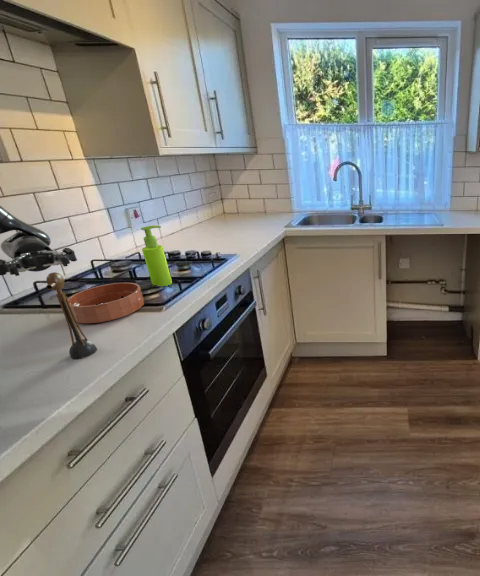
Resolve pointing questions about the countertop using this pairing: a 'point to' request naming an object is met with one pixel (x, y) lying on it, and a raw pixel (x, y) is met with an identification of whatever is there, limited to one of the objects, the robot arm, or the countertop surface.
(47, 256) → the robot arm
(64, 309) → the wooden tabletop sculpture
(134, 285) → the bowl
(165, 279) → the soap dispenser
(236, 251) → the countertop surface
